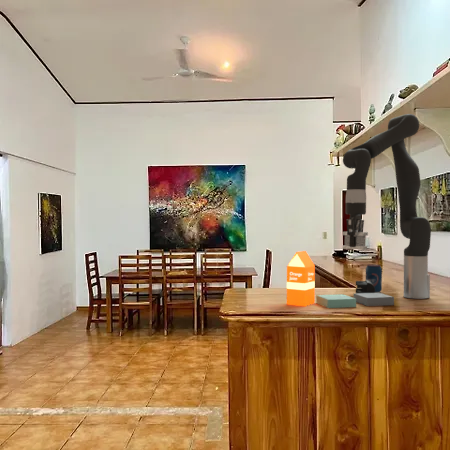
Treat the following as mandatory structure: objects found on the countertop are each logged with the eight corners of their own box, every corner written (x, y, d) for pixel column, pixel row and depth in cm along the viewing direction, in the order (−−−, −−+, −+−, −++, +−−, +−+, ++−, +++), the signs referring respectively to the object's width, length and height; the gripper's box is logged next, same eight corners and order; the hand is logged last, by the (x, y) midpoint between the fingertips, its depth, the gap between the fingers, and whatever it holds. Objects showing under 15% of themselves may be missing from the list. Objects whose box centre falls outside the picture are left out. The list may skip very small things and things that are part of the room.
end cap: (375, 299, 195) (375, 282, 195) (357, 298, 196) (357, 282, 196) (372, 295, 205) (372, 279, 205) (355, 295, 206) (355, 279, 206)
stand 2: (379, 300, 193) (379, 292, 192) (394, 304, 182) (394, 297, 182) (353, 301, 190) (353, 293, 190) (367, 305, 180) (367, 297, 179)
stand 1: (342, 301, 188) (342, 294, 188) (356, 306, 178) (356, 298, 177) (316, 302, 186) (316, 295, 186) (328, 307, 175) (328, 299, 175)
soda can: (363, 292, 214) (364, 265, 214) (367, 290, 220) (367, 263, 220) (380, 293, 211) (380, 265, 211) (383, 291, 217) (383, 264, 217)
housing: (342, 248, 184) (342, 231, 184) (346, 248, 188) (347, 231, 188) (363, 249, 179) (363, 232, 179) (367, 249, 183) (367, 232, 183)
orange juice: (286, 304, 183) (286, 251, 183) (296, 301, 190) (296, 250, 190) (305, 306, 178) (305, 252, 178) (315, 303, 186) (315, 251, 186)
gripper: (352, 202, 191) (351, 245, 192) (339, 201, 179) (338, 246, 180) (371, 202, 187) (370, 246, 187) (359, 201, 175) (358, 247, 175)
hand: (354, 246), depth 183 cm, fingers closed on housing, 5 cm apart
